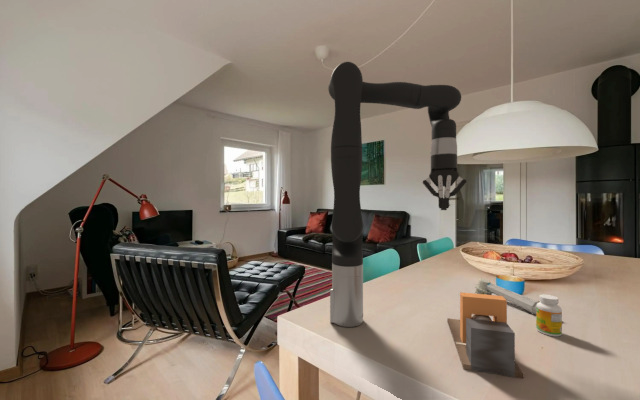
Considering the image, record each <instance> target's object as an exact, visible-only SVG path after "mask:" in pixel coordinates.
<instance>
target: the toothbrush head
mask: <svg viewBox="0 0 640 400" xmlns="http://www.w3.org/2000/svg"><path fill="white" fill-rule="evenodd" d="M474 285H475V286H474V289H475V294H485V295H496V296H503V297H504V298H505V299H506V300H507V302H509V303H511V304H513V305H516V306H518V307H519V308H521V309H524V310H525V311H528V312H530V313H531V314H532V315H535V316H536V305H537V303H539V302H541V301H540V300H534V299H531V298H529V297H528V296H527V297H526V296H524V295H521V294H519V293H517V292H515V291H512V290H509V289H507V288H504V287H502V286H499V285H498V284H497V285H496V284H495V283H494V284H493V283H491V280H488V279H486V278H479V280H478V284H474Z"/></svg>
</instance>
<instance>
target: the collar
mask: <svg viewBox="0 0 640 400" xmlns="http://www.w3.org/2000/svg"><path fill="white" fill-rule="evenodd" d="M459 294H460V295H459V307H460V308H459V314H460V315H459V318H460V319H459V320H460V338H461V340H462V343H466V318H469V319H472V314H477V315H486V316H489V317H493V318H492V321H496V322H505V323H507V324H508V322H507V321H508V320H507V319H508V307H507V305H508V301H507V300H506V299H505V298H504V297H503V296H498V295H496V294H492V295H485V294H477V293H471V292H462V291H461V292H460V293H459Z"/></svg>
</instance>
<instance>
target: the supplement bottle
mask: <svg viewBox="0 0 640 400" xmlns="http://www.w3.org/2000/svg"><path fill="white" fill-rule="evenodd" d="M539 301H540V302H539V303H537V305H536V315H535V317H536V318H535V319H536V321H535V322H536V323H535V325H536V327H535V328H536V330H537V331H538V332H539V333H541V334H543V335H545V336H549V337H555V338H556V337H561V336H562V333H563V318H562V317H563V310H562V307H561V306H560V305H559V297H557V296H555V295H552V294H543V293H542V294H539Z"/></svg>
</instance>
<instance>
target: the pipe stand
mask: <svg viewBox="0 0 640 400" xmlns="http://www.w3.org/2000/svg"><path fill="white" fill-rule="evenodd" d="M447 324H448V327H449V330H450V333H451V336H452V339H453V342H454V346H455V349H456V351H457V354H458V355H457V356H458V357H459V361H460V364H461V367H462V369H463V370H469V371H476V372H480V373H481V372H482V373H488V374H493V375H499V376H506V377H512V378H518V379H524V372H523V371H522V369H521V368H520V366H519V365H518V364H517V361H516V357H515V356H516V355H515V354H516V353H515V352H516V351H515V349H516V344H515V343H516V342H515V339H516V334H515V331H514V330H513V329H512V328H511V327H510V326H509V324H508V322H507V323H505V322H496V321H493V319H492V318H491V316H486V315H477V314H472V319H469V318H466V343H462V340H461V338H460V319H458V318H457V319H456V318H447Z"/></svg>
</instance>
